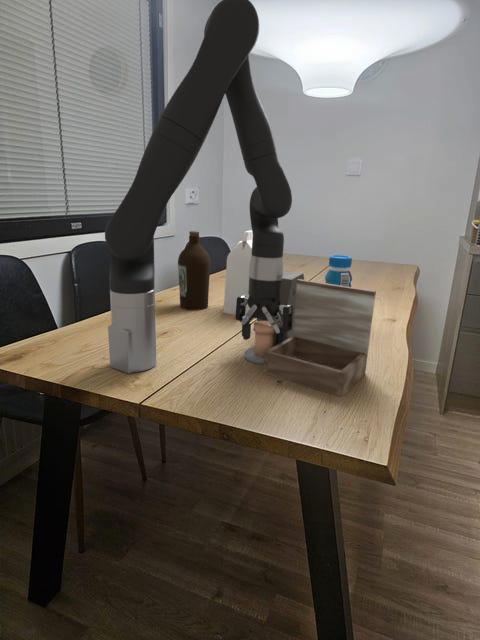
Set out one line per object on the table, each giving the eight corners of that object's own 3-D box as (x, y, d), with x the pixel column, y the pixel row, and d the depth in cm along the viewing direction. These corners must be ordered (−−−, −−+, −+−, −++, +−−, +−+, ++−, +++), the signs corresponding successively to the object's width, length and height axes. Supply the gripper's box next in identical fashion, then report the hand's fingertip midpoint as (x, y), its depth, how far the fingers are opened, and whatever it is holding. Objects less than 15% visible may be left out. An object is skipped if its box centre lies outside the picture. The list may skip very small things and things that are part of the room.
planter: (283, 307, 127) (273, 254, 112) (308, 311, 124) (301, 257, 109) (264, 351, 118) (251, 299, 103) (291, 356, 115) (281, 303, 100)
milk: (257, 317, 133) (261, 233, 126) (223, 312, 137) (225, 231, 129) (267, 308, 144) (272, 231, 137) (236, 304, 148) (239, 228, 140)
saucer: (269, 367, 95) (269, 364, 95) (236, 357, 100) (236, 354, 100) (288, 355, 102) (288, 352, 102) (256, 347, 107) (257, 344, 107)
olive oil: (203, 301, 149) (204, 230, 142) (214, 309, 140) (215, 233, 133) (174, 304, 145) (173, 230, 138) (183, 312, 136) (183, 233, 129)
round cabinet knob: (268, 360, 97) (270, 329, 95) (247, 354, 100) (248, 324, 98) (280, 353, 102) (282, 323, 99) (260, 348, 105) (261, 319, 103)
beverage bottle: (318, 321, 132) (324, 257, 126) (323, 314, 139) (328, 253, 134) (346, 324, 129) (353, 259, 123) (349, 317, 137) (356, 255, 131)
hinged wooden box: (341, 396, 83) (352, 304, 77) (263, 373, 92) (267, 289, 87) (365, 373, 94) (376, 291, 89) (293, 354, 104) (299, 279, 98)
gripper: (230, 273, 96) (228, 340, 101) (285, 283, 89) (280, 354, 94) (248, 269, 102) (245, 332, 107) (301, 278, 95) (295, 345, 100)
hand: (261, 342), depth 100 cm, fingers open, 8 cm apart
